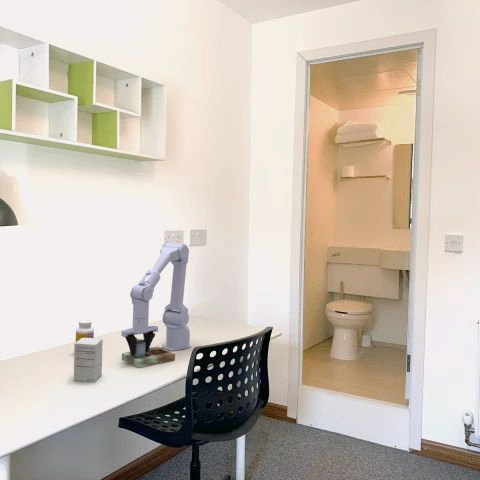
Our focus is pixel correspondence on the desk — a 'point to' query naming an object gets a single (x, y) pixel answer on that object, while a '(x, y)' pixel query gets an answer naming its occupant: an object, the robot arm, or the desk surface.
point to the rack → (149, 357)
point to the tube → (140, 348)
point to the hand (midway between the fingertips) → (139, 352)
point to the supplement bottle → (84, 330)
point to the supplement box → (88, 359)
